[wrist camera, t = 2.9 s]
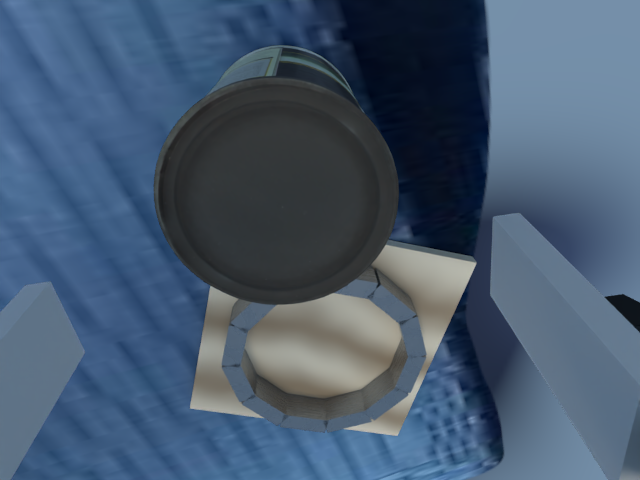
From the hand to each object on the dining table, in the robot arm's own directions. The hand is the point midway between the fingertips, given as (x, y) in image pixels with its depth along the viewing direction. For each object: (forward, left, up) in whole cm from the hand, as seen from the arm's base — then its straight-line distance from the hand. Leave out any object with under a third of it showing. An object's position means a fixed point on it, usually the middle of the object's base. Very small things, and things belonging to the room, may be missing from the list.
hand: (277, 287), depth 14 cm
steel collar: (-17, -7, -20) cm, 27 cm away
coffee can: (0, 0, -21) cm, 21 cm away
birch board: (-17, -7, -20) cm, 27 cm away
